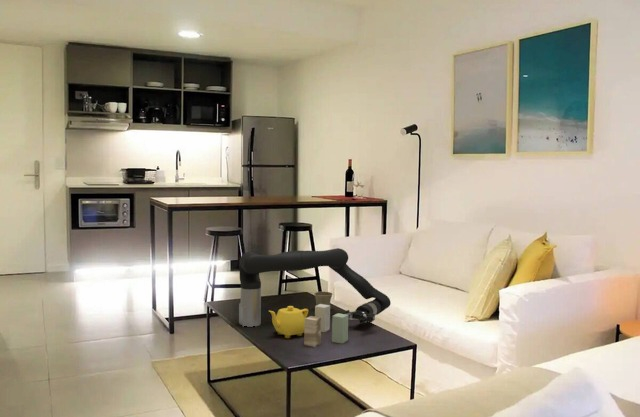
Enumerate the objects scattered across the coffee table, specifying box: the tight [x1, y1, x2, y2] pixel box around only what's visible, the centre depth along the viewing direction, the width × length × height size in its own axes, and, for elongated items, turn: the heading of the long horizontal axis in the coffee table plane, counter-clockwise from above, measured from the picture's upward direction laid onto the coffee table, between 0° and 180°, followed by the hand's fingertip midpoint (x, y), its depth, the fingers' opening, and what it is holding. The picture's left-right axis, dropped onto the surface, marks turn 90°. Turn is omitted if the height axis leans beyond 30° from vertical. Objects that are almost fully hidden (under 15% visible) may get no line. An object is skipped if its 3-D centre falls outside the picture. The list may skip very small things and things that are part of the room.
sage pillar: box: [331, 312, 349, 344], centre depth 235 cm, size 5×5×11 cm
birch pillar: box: [303, 315, 322, 348], centre depth 230 cm, size 5×5×11 cm
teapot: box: [268, 305, 309, 339], centre depth 243 cm, size 13×20×12 cm
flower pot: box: [313, 291, 333, 306], centre depth 284 cm, size 9×9×9 cm
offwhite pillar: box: [314, 304, 331, 333], centre depth 251 cm, size 5×5×11 cm
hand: (351, 320), depth 245 cm, fingers open, 8 cm apart
